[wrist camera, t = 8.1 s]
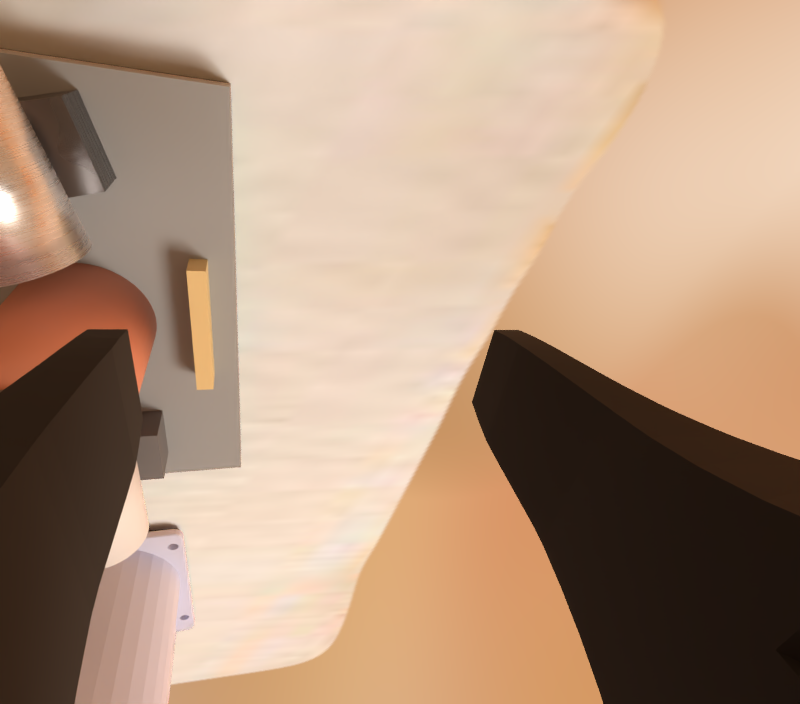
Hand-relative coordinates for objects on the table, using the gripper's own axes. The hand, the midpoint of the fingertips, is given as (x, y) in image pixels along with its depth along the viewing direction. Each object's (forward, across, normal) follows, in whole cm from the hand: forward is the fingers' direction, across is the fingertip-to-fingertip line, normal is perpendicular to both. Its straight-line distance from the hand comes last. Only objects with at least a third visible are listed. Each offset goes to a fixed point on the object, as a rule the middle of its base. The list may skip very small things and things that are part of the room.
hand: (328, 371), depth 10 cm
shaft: (+9, +8, -2) cm, 12 cm away
